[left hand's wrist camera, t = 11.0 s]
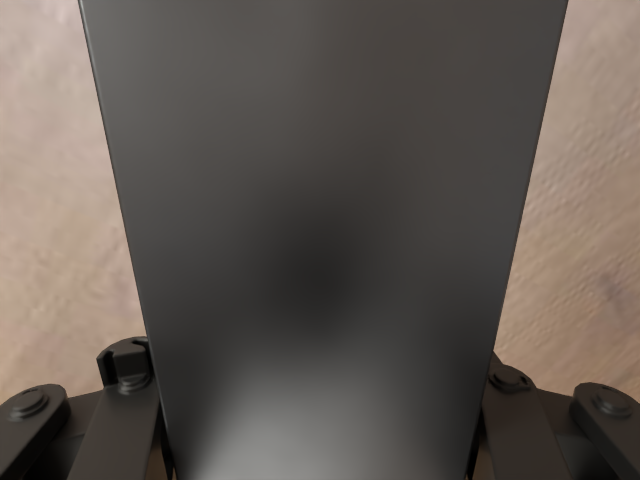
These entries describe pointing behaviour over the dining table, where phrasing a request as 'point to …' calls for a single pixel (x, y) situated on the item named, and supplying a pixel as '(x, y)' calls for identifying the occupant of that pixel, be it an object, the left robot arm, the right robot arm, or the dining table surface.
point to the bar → (322, 219)
